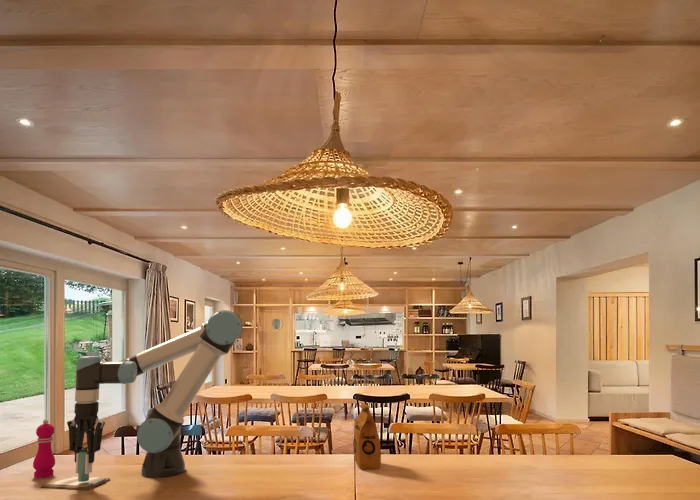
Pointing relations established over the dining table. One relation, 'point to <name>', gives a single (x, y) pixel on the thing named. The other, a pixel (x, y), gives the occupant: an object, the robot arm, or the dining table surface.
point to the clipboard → (75, 483)
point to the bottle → (82, 465)
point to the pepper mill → (44, 451)
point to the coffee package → (366, 440)
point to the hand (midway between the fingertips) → (83, 472)
